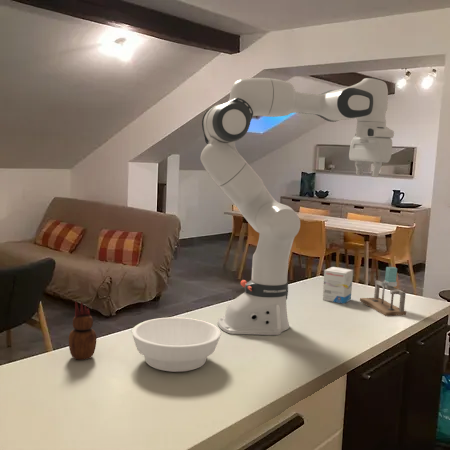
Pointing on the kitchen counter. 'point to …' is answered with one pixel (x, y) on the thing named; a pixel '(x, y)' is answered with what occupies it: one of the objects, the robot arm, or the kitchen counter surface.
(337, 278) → the ink box
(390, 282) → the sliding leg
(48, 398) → the kitchen counter surface
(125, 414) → the kitchen counter surface
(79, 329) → the wooden figurine
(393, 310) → the board
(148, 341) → the bowl
